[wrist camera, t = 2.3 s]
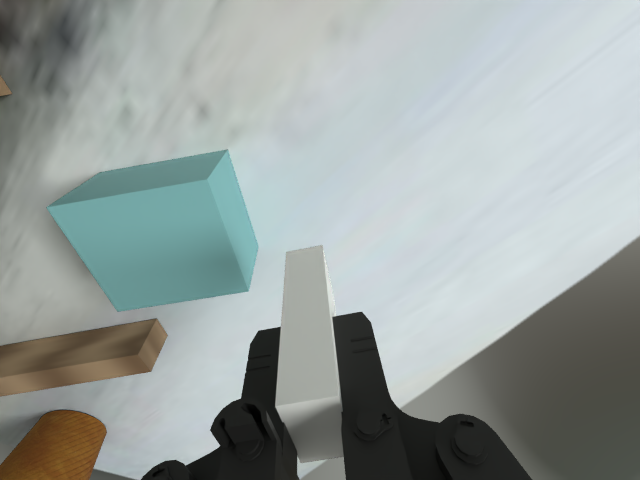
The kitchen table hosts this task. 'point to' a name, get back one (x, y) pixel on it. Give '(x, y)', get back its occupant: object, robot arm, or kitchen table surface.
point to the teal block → (162, 231)
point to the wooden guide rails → (79, 353)
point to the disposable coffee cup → (56, 448)
